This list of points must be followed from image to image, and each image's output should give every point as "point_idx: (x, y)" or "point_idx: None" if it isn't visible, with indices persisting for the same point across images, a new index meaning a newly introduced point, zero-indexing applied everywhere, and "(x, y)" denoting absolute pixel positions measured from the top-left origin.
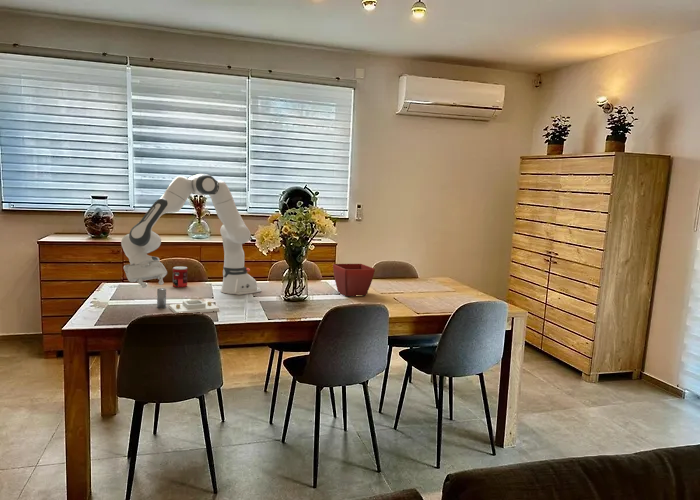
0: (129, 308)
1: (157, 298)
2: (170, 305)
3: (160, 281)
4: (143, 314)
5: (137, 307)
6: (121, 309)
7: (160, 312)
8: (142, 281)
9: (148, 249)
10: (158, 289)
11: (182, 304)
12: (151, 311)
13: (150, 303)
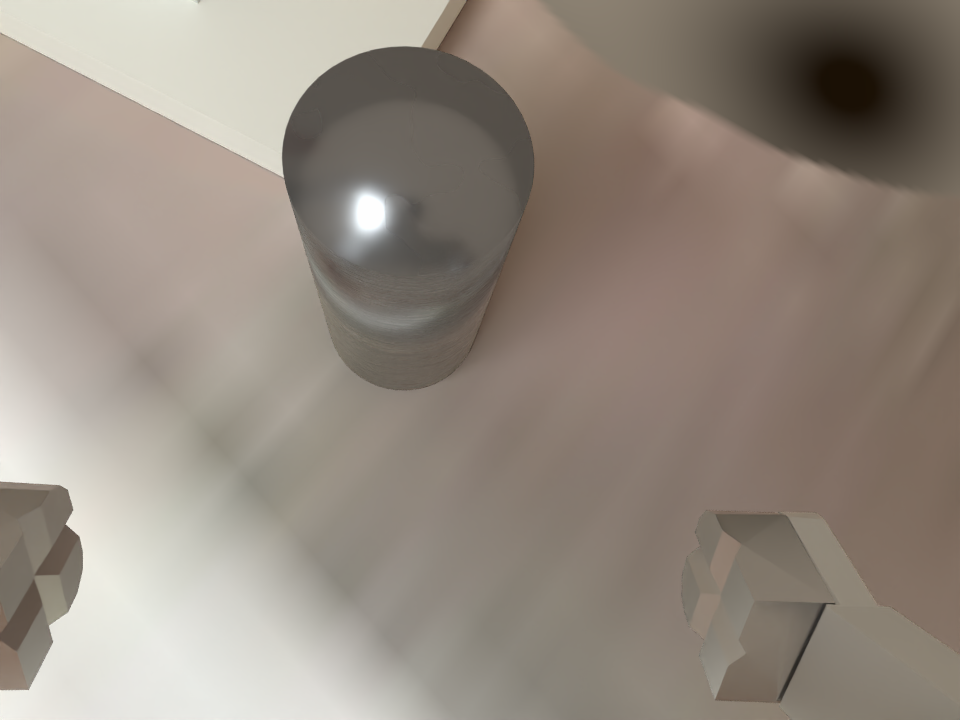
0: None
1: (494, 286)
2: None
3: (17, 538)
4: (850, 202)
5: None
6: None
7: (616, 106)
8: (915, 668)
9: None
10: (498, 193)
11: (170, 30)
12: (675, 243)
13: (341, 701)
